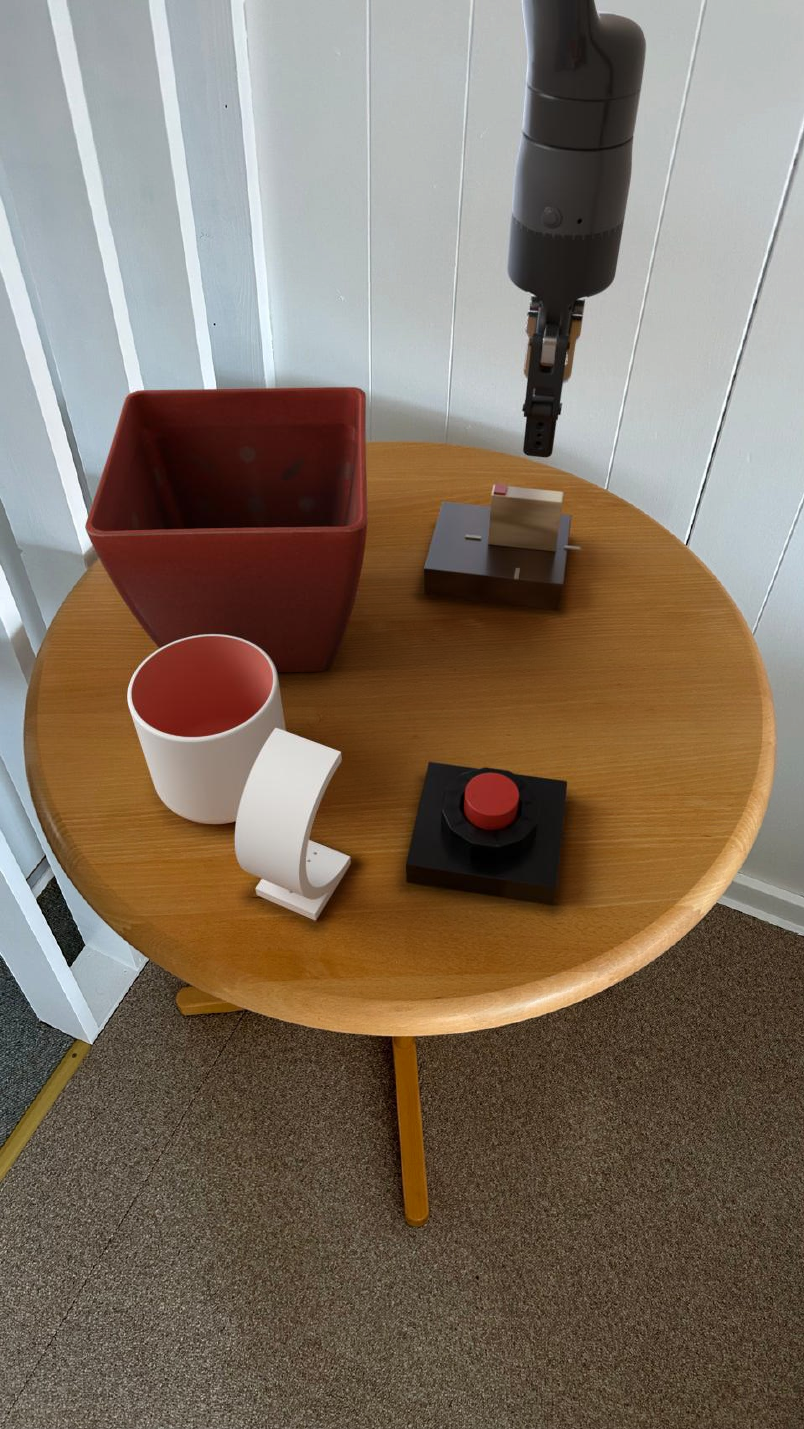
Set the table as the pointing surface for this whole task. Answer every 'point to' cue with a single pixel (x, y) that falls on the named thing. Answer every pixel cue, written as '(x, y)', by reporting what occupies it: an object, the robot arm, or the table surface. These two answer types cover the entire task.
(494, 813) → the button
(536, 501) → the handle
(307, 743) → the headphone stand
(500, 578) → the panel
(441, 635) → the table surface
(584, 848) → the table surface
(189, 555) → the plant pot
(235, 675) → the cup
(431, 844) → the button block
